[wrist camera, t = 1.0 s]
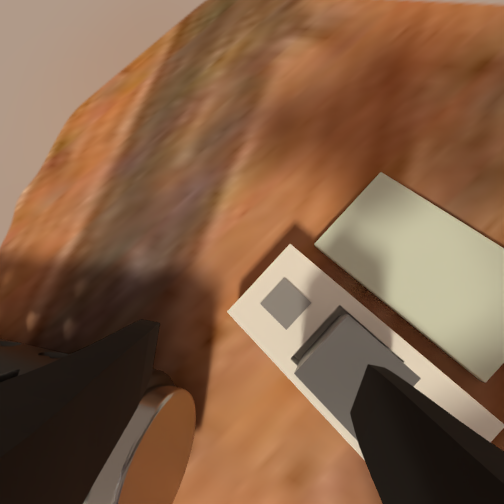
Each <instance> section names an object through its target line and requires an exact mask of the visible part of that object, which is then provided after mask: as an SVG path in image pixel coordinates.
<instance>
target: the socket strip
mask: <svg viewBox="0 0 504 504" xmlns="http://www.w3.org/2000/svg"><path fill="white" fill-rule="evenodd" d="M227 312H228V314H229V315H230V316H231V317H232V318H233V319H234V320H235V321H236V322H237V323H238V324H239V325H240V326H241V328H242V329H243V330H244V331H245V332H246V333H247V334H248V335H249V336H250V337H251V338H252V339H253V340H254V342H255V343H256V344H257V345H258V346H259V347H260V348H261V349H262V350H263V351H264V352H265V353H266V355H267V356H268V357H269V358H270V359H271V360H272V361H273V362H274V363H275V364H276V365H277V366H278V367H279V369H280V370H281V371H282V372H283V373H284V374H285V375H286V376H287V377H288V378H289V379H290V380H291V381H292V383H293V384H294V385H295V386H296V387H297V388H298V389H299V390H300V391H301V392H302V393H303V394H304V396H305V397H306V398H307V399H308V400H309V401H310V402H311V403H312V404H313V405H314V406H315V407H316V408H317V410H318V411H319V412H320V413H321V414H322V415H323V416H324V417H325V418H326V419H327V420H328V421H329V422H330V424H331V425H332V426H333V427H334V428H335V429H336V430H337V431H338V432H339V433H340V434H341V435H342V437H343V438H344V439H345V440H346V441H347V442H348V443H349V444H350V445H351V446H352V447H353V448H354V449H355V451H356V452H357V453H358V454H359V455H360V456H361V457H362V458H363V459H364V457H363V454H362V452H361V449H360V447H359V444H358V441H357V440H356V439H355V438H354V437H353V436H352V435H351V434H350V433H349V431H348V430H347V429H346V428H345V427H344V426H343V425H342V424H341V423H340V422H339V421H338V420H337V419H336V418H335V417H334V416H333V415H332V413H331V412H330V411H329V410H328V409H327V408H326V407H325V406H324V405H323V404H322V403H321V402H320V401H319V400H318V399H317V398H316V396H315V395H314V394H313V393H312V392H311V391H310V390H309V389H308V388H307V387H306V386H305V385H304V384H303V383H302V382H301V381H300V380H299V378H298V377H297V376H296V375H295V374H294V372H295V370H296V368H297V366H298V364H299V362H300V359H301V357H302V355H303V354H304V353H305V352H306V351H307V350H308V348H309V347H310V346H311V345H312V344H313V343H314V342H315V341H316V340H317V339H318V338H319V336H320V335H321V334H322V333H323V332H324V331H325V330H326V329H327V328H328V327H329V326H330V325H331V323H332V322H333V321H334V320H335V319H336V318H337V317H338V316H339V315H349V316H351V317H352V318H353V319H354V320H355V321H356V322H357V323H359V324H360V325H361V326H362V327H363V328H364V329H365V330H366V331H368V332H369V333H370V334H371V335H372V336H373V337H374V338H376V339H377V340H378V341H379V342H380V343H381V344H382V345H384V346H385V347H386V348H387V349H388V350H389V351H390V352H392V353H393V354H394V355H395V356H396V357H397V358H398V359H400V360H401V361H402V362H403V363H404V364H405V365H406V366H407V367H409V368H410V369H411V370H412V371H413V372H414V373H415V374H417V375H418V376H419V377H420V378H421V379H420V380H419V381H418V382H417V383H416V384H415V386H414V387H415V388H416V389H417V390H419V391H420V392H421V393H423V394H424V395H425V396H427V397H428V398H429V399H431V400H432V401H434V402H435V403H436V404H438V405H439V406H440V407H442V408H443V409H444V410H446V411H447V412H448V413H450V414H451V415H453V416H454V417H455V418H457V419H458V420H459V421H461V422H462V423H464V424H465V425H466V426H468V427H469V428H471V429H472V430H473V431H475V432H476V433H478V434H479V435H481V436H482V437H483V438H485V439H486V440H488V441H489V442H491V441H492V440H493V439H494V438H495V437H496V436H497V435H498V434H499V433H500V431H501V430H502V429H503V428H504V424H503V423H502V422H501V421H500V420H498V419H497V418H496V417H495V416H494V415H492V414H491V413H490V412H489V411H488V410H487V409H485V408H484V407H483V406H482V405H481V404H479V403H478V402H477V401H476V400H475V399H474V398H472V397H471V396H470V395H469V394H468V393H466V392H465V391H464V390H463V389H462V388H460V387H459V386H458V385H457V384H456V383H455V382H453V381H452V380H451V379H450V378H449V377H447V376H446V375H445V374H444V373H443V372H442V371H440V370H439V369H438V368H437V367H436V366H434V365H433V364H432V363H431V362H430V361H428V360H427V359H426V358H425V357H424V356H423V355H421V354H420V353H419V352H418V351H417V350H415V349H414V348H413V347H412V346H411V345H410V344H408V343H407V342H406V341H405V340H404V339H402V338H401V337H400V336H399V335H398V334H397V333H395V332H394V331H393V330H392V329H391V328H389V327H388V326H387V325H386V324H385V323H383V322H382V321H381V320H380V319H379V318H378V317H376V316H375V315H374V314H373V313H372V312H370V311H369V310H368V309H367V308H366V307H365V306H363V305H362V304H361V303H360V302H359V301H357V300H356V299H355V298H354V297H353V296H351V295H350V294H349V293H348V292H347V291H346V290H344V289H343V288H342V287H341V286H340V285H338V284H337V283H336V282H335V281H334V280H333V279H331V278H330V277H329V276H328V275H327V274H325V273H324V272H323V271H322V270H321V269H320V268H318V267H317V266H316V265H315V264H314V263H312V262H311V261H310V260H309V259H308V258H306V257H305V256H304V255H303V254H302V253H301V252H299V251H298V250H297V249H296V248H295V247H293V246H292V245H291V244H289V245H288V246H287V247H286V249H285V250H284V251H283V252H282V253H281V254H280V255H279V256H278V257H277V258H276V259H275V260H274V262H273V263H272V264H271V265H270V266H269V267H268V268H267V269H266V270H265V271H264V272H263V273H262V275H261V276H260V277H259V278H258V279H257V280H256V281H255V282H254V283H253V284H252V285H251V286H250V288H249V289H248V290H247V291H246V292H245V293H244V294H243V295H242V296H241V297H240V298H239V299H238V301H237V302H236V303H235V304H234V305H233V306H232V307H231V308H230V309H229V310H228V311H227ZM364 460H365V459H364Z"/></svg>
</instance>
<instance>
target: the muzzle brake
mask: <svg viewBox="0 0 504 504" xmlns="http://www.w3.org/2000/svg"><path fill="white" fill-rule="evenodd" d="M67 355H70V354H66V353H62V352H57V351H53V350H49V349H44V348H40V347H36V346H31V345H27V344H22V343H18V342H14V341H9V340H5V339H1V338H0V382H3V381H5V380H8V379H11V378H14V377H16V376H19V375H22V374H25V373H27V372H30V371H32V370H35V369H37V368H40V367H42V366H45V365H47V364H49V363H52V362H54V361H56V360H58V359H61V358H63V357H65V356H67ZM195 424H196V410H195V403H194V399H193V397H192V395H191V393H190V392H188V391H187V390H186V389H183V388H179V387H176V386H175V384H174V383H173V381H172V380H171V379H170V377H169V376H168V375H167V374H165V373H164V372H163V371H160V370H156V369H152V375H151V378H150V380H149V383H148V385H147V387H146V390H145V392H144V394H143V397H142V399H141V401H140V403H139V406H138V407H137V409H136V411H135V413H134V415H133V416H132V418H131V420H130V422H129V423H128V425H127V427H126V429H125V430H124V432H123V434H122V436H121V437H120V439H119V441H118V443H117V444H116V446H115V448H114V449H113V451H112V453H111V455H110V456H109V458H108V460H107V462H106V463H105V465H104V467H103V469H102V470H101V472H100V474H99V475H98V477H97V479H96V481H95V482H94V484H93V486H92V488H91V490H90V491H89V493H88V495H87V497H86V499H85V501H84V503H83V504H172V503H173V501H174V499H175V496H176V494H177V492H178V489H179V487H180V484H181V481H182V479H183V476H184V473H185V470H186V467H187V463H188V460H189V456H190V452H191V449H192V444H193V439H194V432H195Z"/></svg>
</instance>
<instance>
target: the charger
mask: <svg viewBox="0 0 504 504" xmlns="http://www.w3.org/2000/svg"><path fill="white" fill-rule="evenodd" d="M368 364H370V365H375V366H380V367H385V368H387V369H388V370H390V371H392V372H393V373H395V374H396V375H398V376H399V377H401V378H402V379H403V380H405V381H406V382H408V383H409V384H410V385H412V386H413V387H414V386H415V384H416V383H417V382H418V381H419V380H420V379H421V378H420V377H419V376H418V375H417V374H415V373H414V372H413V371H412V370H411V369H410V368H409V367H407V366H406V365H405V364H404V363H403V362H402V361H401V360H400V359H398V358H397V357H396V356H395V355H394V354H393V353H392V352H390V351H389V350H388V349H387V348H386V347H385V346H384V345H382V344H381V343H380V342H379V341H378V340H377V339H376V338H374V337H373V336H372V335H371V334H370V333H369V332H368V331H366V330H365V329H364V328H363V327H362V326H361V325H360V324H359V323H357V322H356V321H355V320H354V319H353V318H352V317H351V316H349V315H339V316H338V317H337V318H336V319H335V320H334V321H333V322H332V323H331V325H330V326H329V327H328V328H327V329H326V330H325V331H324V332H323V333H322V334H321V335H320V336H319V338H318V339H317V340H316V341H315V342H314V343H313V344H312V345H311V346H310V347H309V348H308V350H307V351H306V352H305V353H304V354H303V355H302V357H301V359H300V362H299V364H298V366H297V368H296V370H295V372H294V374H295V375H296V376H297V377H298V378H299V380H300V381H301V382H302V383H303V384H304V385H305V386H306V387H307V388H308V389H309V390H310V391H311V392H312V393H313V394H314V395H315V396H316V398H317V399H318V400H319V401H320V402H321V403H322V404H323V405H324V406H325V407H326V408H327V409H328V410H329V411H330V412H331V413H332V415H333V416H334V417H335V418H336V419H337V420H338V421H339V422H340V423H341V424H342V425H343V426H344V427H345V428H346V429H347V430H348V431H349V433H350V434H351V435H352V436H353V437H354V438H355V439H356V440H357V437H356V434H355V431H354V427H353V423H352V419H351V415H350V411H351V409H352V406H353V403H354V400H355V398H356V395H357V392H358V389H359V387H360V384H361V381H362V379H363V376H364V373H365V370H366V368H367V365H368ZM357 441H358V440H357Z"/></svg>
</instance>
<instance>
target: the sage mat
mask: <svg viewBox="0 0 504 504" xmlns="http://www.w3.org/2000/svg"><path fill="white" fill-rule="evenodd" d="M314 246H315V247H316V248H318V249H319V250H320V251H321V252H323V253H324V254H325V255H326V256H327V257H329V258H330V259H331V260H332V261H334V262H335V263H336V264H337V265H338V266H340V267H341V268H342V269H343V270H345V271H346V272H347V273H348V274H350V275H351V276H352V277H353V278H354V279H356V280H357V281H358V282H359V283H361V284H362V285H363V286H364V287H366V288H367V289H368V290H369V291H370V292H372V293H373V294H374V295H375V296H377V297H378V298H379V299H380V300H381V301H383V302H384V303H385V304H386V305H388V306H389V307H390V308H391V309H393V310H394V311H395V312H396V313H397V314H399V315H400V316H401V317H402V318H404V319H405V320H406V321H407V322H409V323H410V324H411V325H412V326H413V327H415V328H416V329H417V330H418V331H420V332H421V333H422V334H423V335H424V336H426V337H427V338H428V339H429V340H431V341H432V342H433V343H434V344H436V345H437V346H438V347H439V348H440V349H442V350H443V351H444V352H445V353H447V354H448V355H449V356H450V357H452V358H453V359H454V360H455V361H456V362H458V363H459V364H460V365H461V366H463V367H464V368H465V369H466V370H467V371H469V372H470V373H471V374H472V375H474V376H475V377H476V378H477V379H479V380H480V381H482V382H484V383H486V382H487V381H488V380H489V379H490V377H491V376H492V375H493V374H494V373H495V372H496V371H497V370H498V369H499V368H500V366H501V365H502V364H503V363H504V248H502V247H501V246H499V245H498V244H496V243H494V242H493V241H491V240H490V239H488V238H486V237H485V236H483V235H482V234H480V233H478V232H477V231H475V230H474V229H472V228H470V227H469V226H467V225H466V224H464V223H462V222H461V221H459V220H458V219H456V218H454V217H453V216H451V215H449V214H448V213H446V212H445V211H443V210H441V209H440V208H438V207H437V206H435V205H433V204H432V203H430V202H429V201H427V200H425V199H424V198H422V197H421V196H419V195H417V194H416V193H414V192H413V191H411V190H409V189H408V188H406V187H405V186H403V185H401V184H400V183H398V182H397V181H395V180H393V179H392V178H390V177H388V176H387V175H385V174H384V173H382V172H380V173H379V174H378V175H377V176H376V178H375V179H374V180H373V181H372V182H371V183H370V184H369V185H368V186H367V187H366V188H365V189H364V191H363V192H362V193H361V194H360V195H359V196H358V197H357V198H356V199H355V200H354V201H353V202H352V204H351V205H350V206H349V207H348V208H347V209H346V210H345V211H344V212H343V213H342V214H341V215H340V217H339V218H338V219H337V220H336V221H335V222H334V223H333V224H332V225H331V226H330V227H329V228H328V230H327V231H326V232H325V233H324V234H323V235H322V236H321V237H320V238H319V239H318V240H317V241H316V243H315V244H314Z"/></svg>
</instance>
